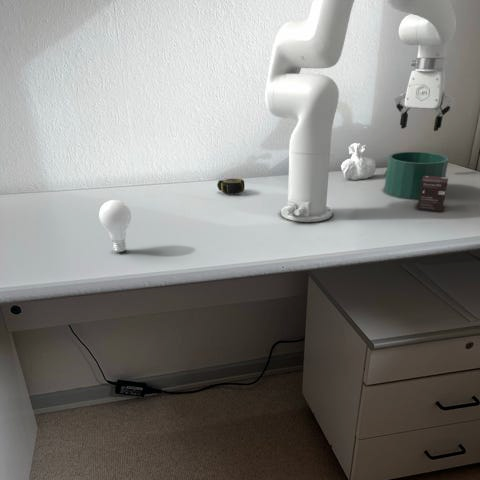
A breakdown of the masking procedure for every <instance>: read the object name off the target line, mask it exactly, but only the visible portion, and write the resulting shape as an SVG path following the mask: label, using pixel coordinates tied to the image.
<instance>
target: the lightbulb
mask: <svg viewBox="0 0 480 480" xmlns="http://www.w3.org/2000/svg"><path fill="white" fill-rule="evenodd" d="M98 219H99V221H100V223H101V225H102V226H103V228H104V229H105V230H106V231H107V233H108V235H109V237H110V239H111V242H112V248H113V251H114V252H117V253H120V254H121V253H123V252H124V251H126V250H127V244H126V236H127V230H128V228H129V226H130V224H131V221H132V212H131V210H130V208H129V206H128V205H127V204H126V203H125V202H123V201H122V200H119V199H110V200H107V201H105V202H104V203H103V204H102V205H101V206H100V208H99V211H98Z"/></svg>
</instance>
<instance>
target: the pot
mask: <svg viewBox="0 0 480 480" xmlns="http://www.w3.org/2000/svg"><path fill="white" fill-rule="evenodd" d="M449 160H450V159H449V157H448V156H447V155H444V154H439V153H434V152H425V151H401V152H394V153H391V154H389V155H388V158H387V165H386V170H387V173H386V172H385V181H384V182H385V183H384V193H386V194H388V195H389V196H392V197H395V198H400V199H406V200H419V195H420V189H421V183H422V180H423V177H424V176H437V177H445V178H446V175H447V169H448V165H449Z"/></svg>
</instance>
